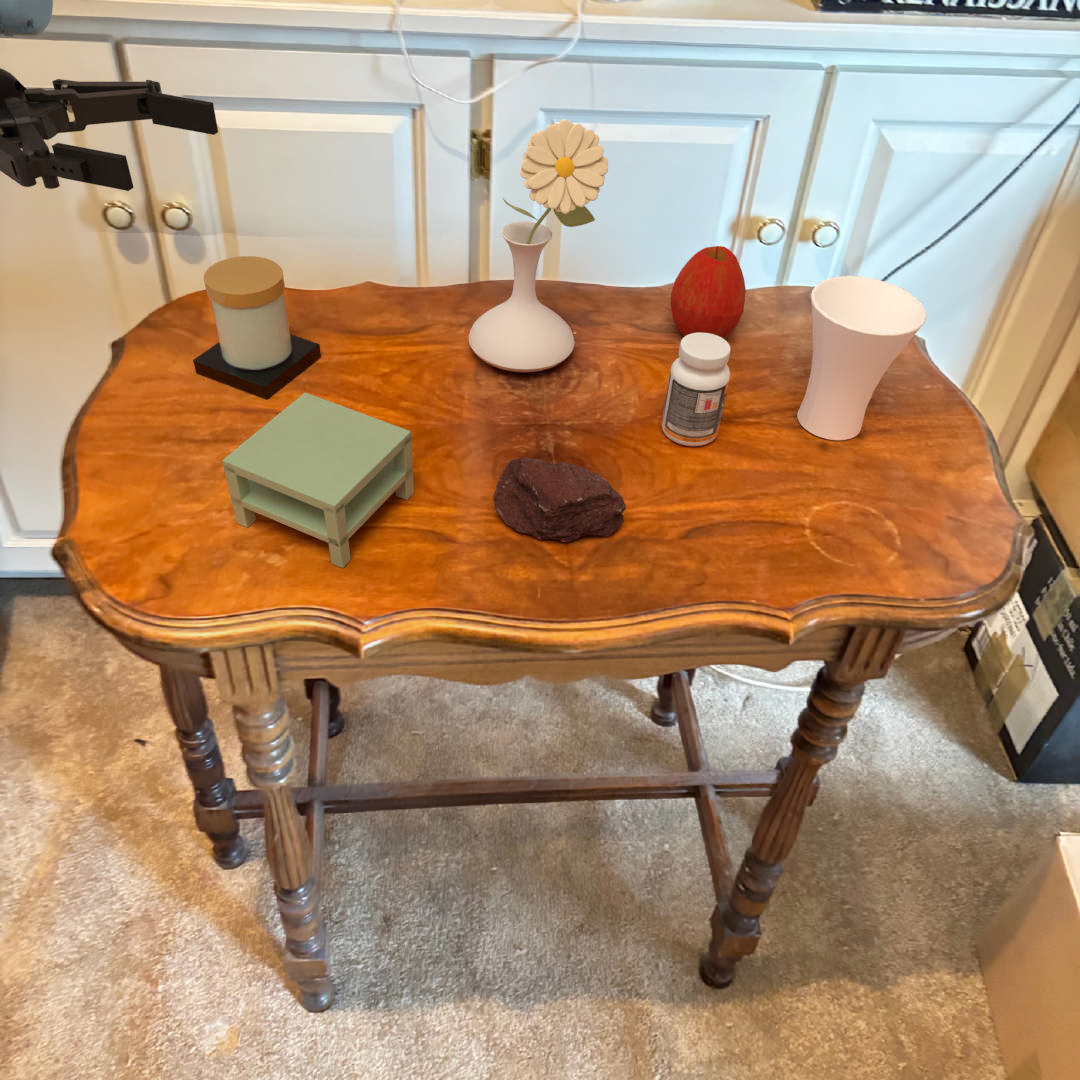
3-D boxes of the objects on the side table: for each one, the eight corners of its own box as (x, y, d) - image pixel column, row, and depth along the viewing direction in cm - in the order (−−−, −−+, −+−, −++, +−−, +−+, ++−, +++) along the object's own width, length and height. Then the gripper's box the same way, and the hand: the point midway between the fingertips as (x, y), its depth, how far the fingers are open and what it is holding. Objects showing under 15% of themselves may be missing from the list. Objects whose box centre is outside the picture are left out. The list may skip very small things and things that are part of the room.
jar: (204, 356, 95) (186, 280, 89) (251, 323, 100) (238, 249, 94) (263, 378, 93) (249, 301, 87) (308, 343, 98) (298, 268, 92)
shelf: (236, 523, 80) (221, 460, 75) (314, 453, 88) (305, 391, 83) (342, 568, 77) (334, 506, 72) (414, 492, 84) (411, 430, 80)
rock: (613, 560, 83) (596, 493, 88) (640, 514, 79) (621, 446, 84) (497, 550, 80) (486, 481, 85) (519, 501, 75) (506, 431, 80)
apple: (690, 307, 111) (706, 220, 103) (751, 333, 107) (772, 246, 100) (651, 334, 106) (665, 245, 98) (713, 362, 102) (733, 272, 95)
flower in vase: (455, 371, 98) (453, 129, 81) (484, 317, 106) (488, 86, 89) (576, 393, 97) (601, 151, 79) (596, 337, 105) (623, 105, 88)
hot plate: (195, 373, 96) (192, 358, 94) (253, 332, 102) (250, 318, 100) (266, 400, 93) (264, 384, 92) (321, 356, 99) (319, 342, 98)
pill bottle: (727, 442, 92) (748, 356, 85) (676, 453, 91) (693, 367, 84) (700, 409, 96) (718, 324, 89) (650, 419, 94) (664, 334, 87)
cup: (902, 437, 94) (951, 319, 85) (823, 464, 91) (864, 344, 81) (833, 382, 101) (871, 267, 92) (756, 405, 97) (788, 287, 88)
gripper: (66, 105, 98) (250, 138, 94) (-120, 199, 80) (97, 244, 77) (44, 26, 93) (237, 58, 89) (-160, 108, 75) (70, 152, 72)
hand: (173, 144), depth 83 cm, fingers open, 13 cm apart
